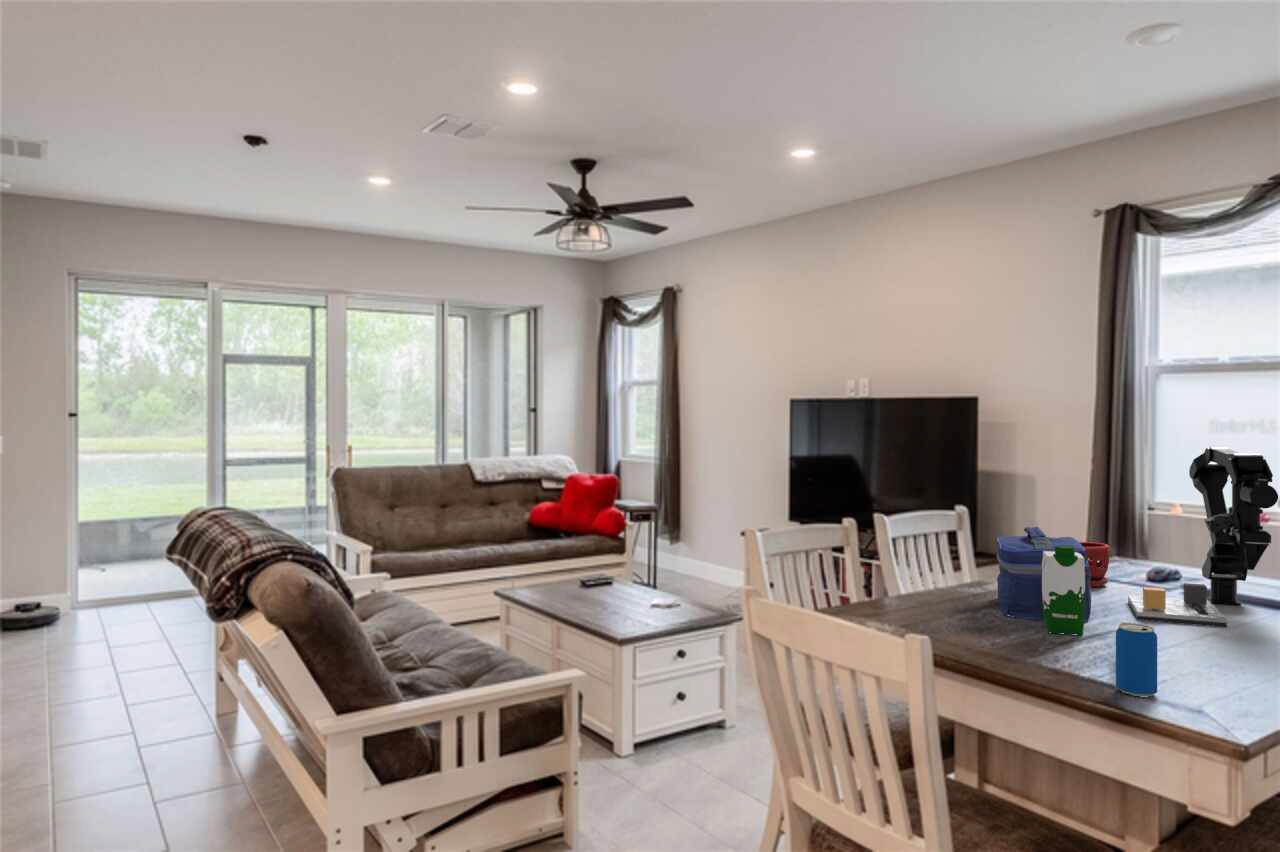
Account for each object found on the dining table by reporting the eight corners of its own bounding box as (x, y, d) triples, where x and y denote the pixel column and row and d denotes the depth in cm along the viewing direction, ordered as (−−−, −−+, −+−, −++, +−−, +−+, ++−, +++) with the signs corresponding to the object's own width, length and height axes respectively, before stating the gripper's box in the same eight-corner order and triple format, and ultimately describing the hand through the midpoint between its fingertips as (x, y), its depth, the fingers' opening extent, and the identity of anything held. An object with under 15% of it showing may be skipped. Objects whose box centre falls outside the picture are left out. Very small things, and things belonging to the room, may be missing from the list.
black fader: (1183, 606, 211) (1183, 583, 210) (1204, 607, 209) (1204, 584, 209) (1185, 608, 208) (1185, 585, 208) (1206, 610, 206) (1206, 586, 206)
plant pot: (1110, 582, 245) (1110, 542, 245) (1108, 590, 234) (1108, 548, 234) (1061, 578, 252) (1061, 539, 252) (1056, 585, 241) (1056, 545, 241)
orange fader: (1142, 610, 206) (1142, 587, 206) (1163, 611, 205) (1163, 588, 205) (1144, 613, 204) (1144, 589, 204) (1165, 614, 202) (1165, 590, 202)
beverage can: (1163, 700, 146) (1163, 632, 146) (1123, 697, 147) (1123, 631, 147) (1148, 688, 152) (1148, 623, 152) (1110, 686, 154) (1110, 621, 154)
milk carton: (1045, 634, 189) (1045, 547, 189) (1040, 624, 198) (1039, 541, 198) (1088, 637, 187) (1087, 549, 186) (1080, 627, 195) (1080, 543, 195)
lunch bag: (993, 593, 233) (993, 520, 233) (1076, 598, 226) (1076, 523, 226) (1001, 619, 204) (1001, 536, 204) (1097, 625, 197) (1097, 540, 197)
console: (1128, 602, 220) (1128, 594, 220) (1209, 608, 212) (1209, 600, 212) (1137, 619, 201) (1137, 611, 201) (1226, 627, 194) (1226, 618, 194)
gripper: (1200, 499, 217) (1200, 558, 217) (1215, 506, 200) (1215, 571, 200) (1251, 500, 212) (1251, 561, 213) (1271, 508, 195) (1271, 574, 196)
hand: (1246, 566), depth 205 cm, fingers open, 9 cm apart
